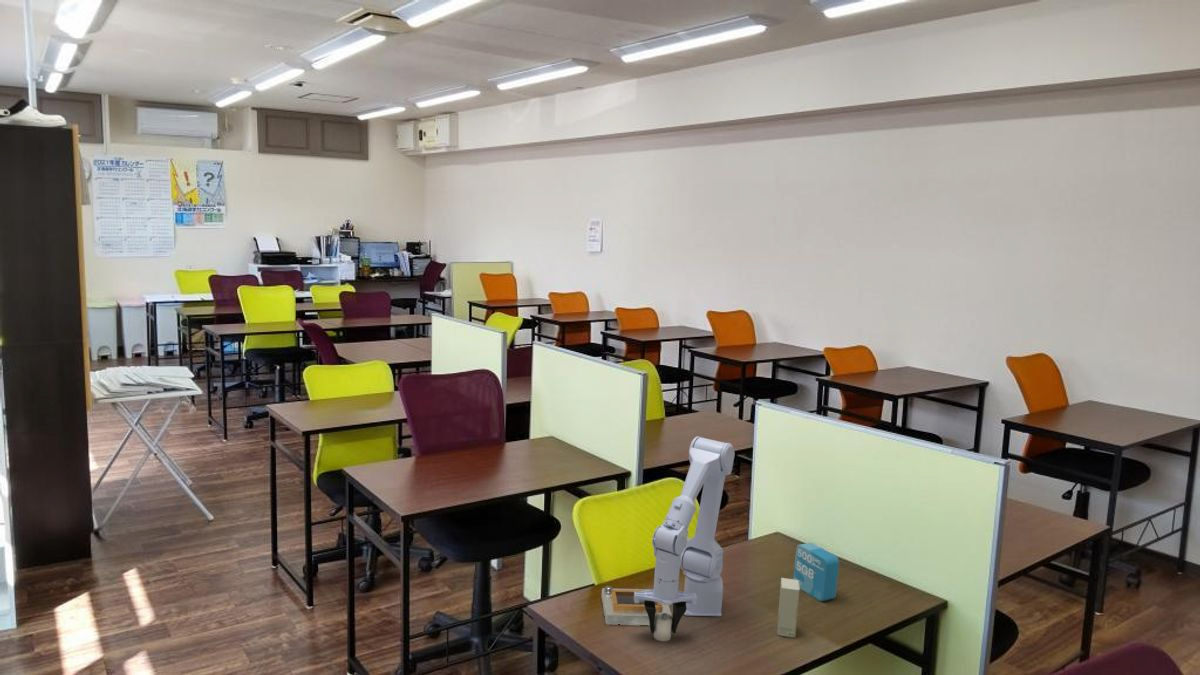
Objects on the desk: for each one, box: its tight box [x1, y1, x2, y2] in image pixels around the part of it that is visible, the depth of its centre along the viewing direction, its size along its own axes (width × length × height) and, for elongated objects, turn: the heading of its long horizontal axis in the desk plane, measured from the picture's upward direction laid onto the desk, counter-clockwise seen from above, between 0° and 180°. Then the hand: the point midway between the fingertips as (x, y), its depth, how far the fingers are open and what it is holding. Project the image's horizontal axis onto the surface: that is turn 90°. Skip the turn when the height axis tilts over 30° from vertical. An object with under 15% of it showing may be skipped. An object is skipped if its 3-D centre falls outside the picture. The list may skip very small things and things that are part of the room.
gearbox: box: [601, 585, 673, 627], centre depth 202 cm, size 16×14×4 cm
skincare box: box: [776, 577, 801, 638], centre depth 196 cm, size 6×4×12 cm
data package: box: [792, 542, 840, 602], centre depth 218 cm, size 12×4×12 cm, turn 27°
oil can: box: [653, 613, 673, 642], centre depth 190 cm, size 4×4×6 cm
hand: (662, 631), depth 190 cm, fingers open, 4 cm apart
